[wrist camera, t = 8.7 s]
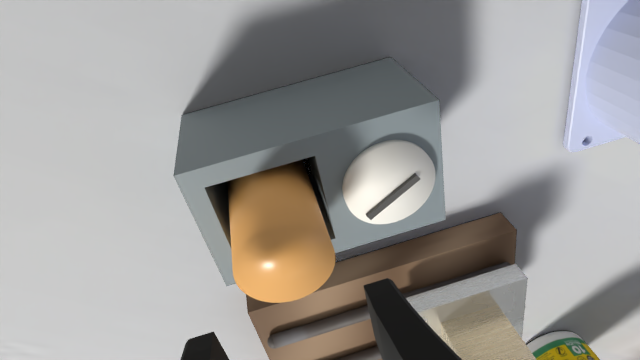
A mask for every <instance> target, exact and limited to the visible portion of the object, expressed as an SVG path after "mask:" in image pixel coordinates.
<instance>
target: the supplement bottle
mask: <svg viewBox="0 0 640 360" xmlns="http://www.w3.org/2000/svg"><path fill="white" fill-rule="evenodd" d="M527 347H528V348H529V350H530V351H531V353H532V354H533V355H534V357H535V358H536V360H600V359H599V358H598V357H597V356H596V354H595V353H594V352H593V351H592V350H591V349H590V347H589V346H588V345H587V344H586V343H585V342H584V341H583V339H582V338H581V337H580V336H578V335H577V334H575V333H573V332H569V331H557V332H551V333H548V334H545V335H543V336H540V337H538V338H537V339H535V340H533V341H532V342H530V343H529V344H528V345H527Z"/></svg>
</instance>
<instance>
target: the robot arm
mask: <svg viewBox="0 0 640 360" xmlns="http://www.w3.org/2000/svg"><path fill="white" fill-rule="evenodd" d="M585 137H586V138H585ZM624 137H628V138H630V139H632V140H633V141H635V142H637V143H638V144H640V0H582V5H581V12H580V20H579V28H578V35H577V43H576V50H575V58H574V66H573V73H572V81H571V89H570V96H569V104H568V111H567V119H566V127H565V134H564V142H563V145H564V148H565V149H567V150H568V151H569V152H577V151H581V150H584V149H587V148H591V147H594V146H597V145H601V144H604V143H607V142H611V141H614V140H617V139H621V138H624ZM363 286H364V291H365V295H366V300H367V304H368V309H369V314H370V318H371V323H372V327H373V332H374V337H375V340H376V342H377V345H378V348H379V351H380V354H381V357H382V360H462V359H461V358H460V357H459V356H458V355H457V354H456V353H455V352H454V351H453V350H452V349H451V348H450V347H449V346H448V345H447V344H446V343H445V342H444V341H443V340H442V339H441V338H440V337H439V336H438V335H437V334H436V333H435V332H434V331H433V329H432V328H431V327H430V326H429V325H428V324H427V323H426V322H425V321H424V320H423V318H422V317H421V316H420V315H419V314H418V313H417V311H416V310H415V309H414V308H413V307H412V306H411V304H410V303H409V302H408V301H407V299H406V298H405V297H404V296H403V294H402V293H401V292H400V290H399V289H398V288H397V286H396V285H395V283H394V282H393V280H391V279H389V278H386V279H383V280H379V281H376V282H373V283H370V284H366V285H363ZM181 360H229V359H228V357H227V355H226V353H225V351H224V349H223V348H222V346H221V344H220V342H219V340H218V339H217V337H216V335H215V333H214V332H211V333H208V334H205V335H201V336H198V337H195V338H192V339H189V340H188V341H187V343H186V344H185V348H184V351H183V354H182V357H181Z"/></svg>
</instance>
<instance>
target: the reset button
mask: <svg viewBox="0 0 640 360" xmlns="http://www.w3.org/2000/svg"><path fill="white" fill-rule="evenodd" d="M227 183H228V200H229V217H230V235H231V252H232V269H233V277H234V280H235V282H236V284H237V285H238V287H239V288H240V289H241V290H242V291H243V292H244V293H245V294H247V295H248V296H250V297H252V298H254V299H257V300H260V301H264V302H271V303H282V302H290V301H294V300H298V299H300V298H303V297H305V296H307V295H309V294H311V293H313V292H315V291H316V290H317V289H319V288H320V287H321V286H322V285H323V284H324V283H325V282H326V281H327V280H328V278H329V277H330V275H331V273H332V271H333V269H334V266H335V251H334V248H333V245H332V242H331V239H330V236H329V234H328V231H327V228H326V225H325V222H324V219H323V216H322V214H321V211H320V208H319V205H318V202H317V199H316V196H315V194H314V191H313V188H312V185H311V182H310V179H309V176H308V174H307V171H306V168H305V165H304V162H303V160H298V161H295V162H292V163H288V164H285V165H281V166H278V167H274V168H271V169H267V170H264V171H260V172H257V173H254V174H250V175H247V176H243V177H240V178H236V179H233V180H229V181H227Z"/></svg>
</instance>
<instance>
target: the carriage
mask: <svg viewBox="0 0 640 360" xmlns="http://www.w3.org/2000/svg"><path fill="white" fill-rule="evenodd" d="M527 279H528V278H527V277H526V275H525V274H524V273H523V272H522V271H521V269H520V268H519V267H518V266H517V265H516V264H513V265H510V266H507V267H504V268H500V269H497V270H494V271H491V272H488V273H484V274H481V275H478V276H475V277H472V278H468V279H465V280H462V281H459V282H456V283H452V284H449V285H446V286H443V287H440V288H436V289H433V290H430V291H427V292H424V293H420V294H417V295H414V296H411V297H408V298H406V299H407V301H408V302H409V303H410V304H411V306H412V307H413V308H414V309H415V310H416V311H417V313H418V314H419V315H420V316H421V317H422V318H423V320H424V321H425V322H426V323H427V324H428V325H429V326H430V327H431V328H432V329H433V331H434V332H435V333H436V334H437V335H438V336H439V337H440V338H441V339H442V340H443V341H444V342H445V343H446V344H447V345H448V346H449V347H450V348H451V349H452V350H453V351H454V352H455V353H456V354H457V355H458V356H459V357H460V358H461V359H462V360H536V358H535V357H534V355H533V354H532V353H531V351H530V350H529V348H528V347H527V345H526V344H525V343H524V341H523V340H522V331H523V320H524V310H525V300H526V289H527Z"/></svg>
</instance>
